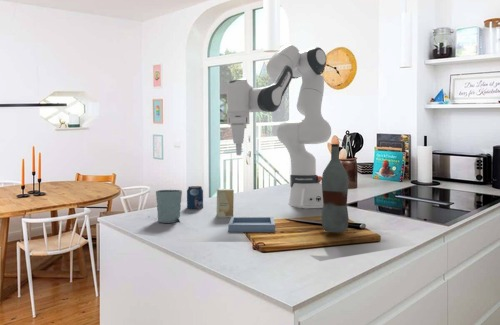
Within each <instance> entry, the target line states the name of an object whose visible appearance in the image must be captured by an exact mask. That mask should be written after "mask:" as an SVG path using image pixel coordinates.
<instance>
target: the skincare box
mask: <svg viewBox="0 0 500 325" xmlns="http://www.w3.org/2000/svg"><path fill="white" fill-rule="evenodd" d="M234 191H235V190H234V189H232V188H217V189H216V217H217V218H222V219H223V218H231V217H234V195H235V194H234Z"/></svg>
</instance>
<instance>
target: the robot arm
mask: <svg viewBox="0 0 500 325" xmlns="http://www.w3.org/2000/svg"><path fill="white" fill-rule="evenodd" d="M279 50H280V51H279V52H277V51H276V52H275V53H274V54H273V55H272V56H271V58H269V60H268V62H267V64H266V66H265V67H266V72H267V73H266V74H267V75H268V77H269V78H270V79H271V80H272V81H273V83H272V84H270V85H268V86H267V85H266V86H262V87H253V86H252V85H250V84H249V83H248V79H246V78H237V79H232V80H230V81H228V83H227V87H226V104H227V109H226V110H227V111H226V119H227V120H226V122H227V123H226V125H230V129H231V134H232V141H233V144H235V151H236V156H242V145H243V143H244V138H245V129H247V125H250V113H260V112H261V113H263V112H264V113H267V112H268V113H273V112H276V111H277V110H278V109H279V108H280V105H281V103H282V99H283V97H284V94H286V92H287V89H288V87H289V85H290V83H291V81H292V79H294V80H295V79H299V78H301V80H302V82H301V86H300V90H299V93H298V98H297V103H296V109H297V111H298V112H299V113H300V114H301V115H302V116H304V118H303V119H297V120H295V119H294V120H286V121H283V122H281V123H279V125H278V126H277V129H276V137H277V139H278V141H279V142H280V143H281V144H283V145H284V147H285V148H286V150H287V152H288V154H289V156H290V157H289V159H290V170H291V171H290V175H289V176H290V177H289V186H290V192H289V199H288V203H287V205H288V206H290V207H293V208H300V209H323V193H322V183H321V182H322V175H321V176H320V175H317V174H316V173H317V169H316V168H317V164H316V163H317V162H316V160H317V159H316V157H315V156H314V155H313V154H312V153H311V152H308V151H307V149H306V147H305V145H319V144H324V143H328V141H329V139H331V135H332V127H331V125H330V123H329V122H328V121H327V120H325V118H324V117H323V115H322V103H323V98H324V90H325V79H324V76H323V75H322V74H323V73H324V72H325V69H326V65H327V55H326V53H325V51H324V50H323V49H322V48H321V47H317V46H316V47H311V48H308V49H305V50H301V51H300V50H299V49H298V48H297V47H296V46H295V45H294V44H293V45H292V44H287V45H284V46H282V47H281V48H279Z"/></svg>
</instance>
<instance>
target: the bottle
mask: <svg viewBox="0 0 500 325" xmlns="http://www.w3.org/2000/svg"><path fill="white" fill-rule="evenodd" d="M330 146H331V147H330V148H331V149H330V150H331V151H330V160H329V162H328V164H327V165H326V166H325V169H324V170H323V172H322V175H321V177H322V180H321V181H320V184H322V193H323V208H322V210H321V227H322V229H323V231H324V230H325V231H324V232H329V233H344V231H345V232H347V231H348V228H349V212H348V206H347V205H348V195H349V194H348V193H349V184H350V183H349V174H348V172H347V170H346V169H345V167H344V165H343V164H342V162H341V160H340V149H339V146H340V144H339V143H331V144H330Z"/></svg>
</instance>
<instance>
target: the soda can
mask: <svg viewBox="0 0 500 325" xmlns="http://www.w3.org/2000/svg"><path fill="white" fill-rule="evenodd" d="M186 199H187V200H186V209H187V210H193V211H195V210H196V211H197V210H202V209H204V190H203V187H202V186H199V185H195V186H194V185H191V186H188V187H187V190H186Z"/></svg>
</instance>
